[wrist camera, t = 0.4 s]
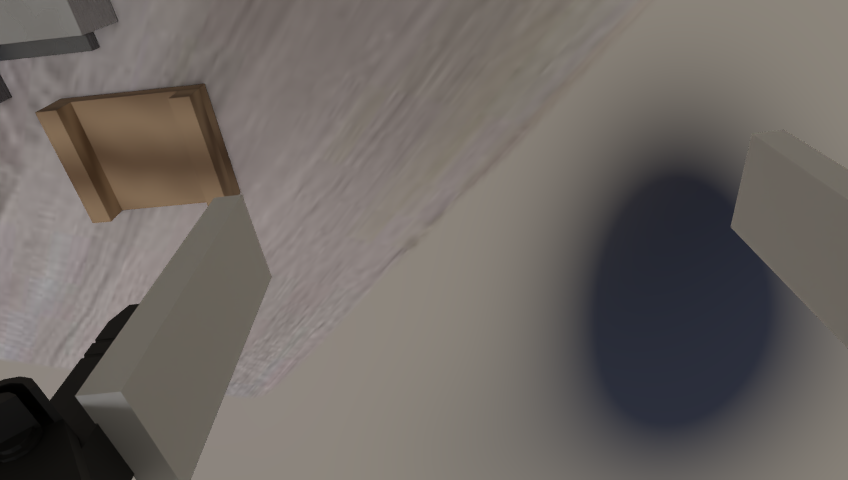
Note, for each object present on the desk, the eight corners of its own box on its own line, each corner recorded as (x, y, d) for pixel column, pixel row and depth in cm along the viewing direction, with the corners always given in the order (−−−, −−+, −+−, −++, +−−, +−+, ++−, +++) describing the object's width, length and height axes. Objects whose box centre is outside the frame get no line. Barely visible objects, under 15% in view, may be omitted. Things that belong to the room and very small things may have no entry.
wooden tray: (60, 99, 39) (35, 112, 36) (204, 83, 38) (189, 96, 35) (111, 204, 43) (92, 223, 41) (240, 192, 43) (229, 210, 40)
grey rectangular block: (-22, -22, 34) (-77, -13, 30) (95, -36, 34) (54, -29, 30) (7, 34, 36) (-42, 49, 32) (118, 21, 36) (82, 35, 32)
